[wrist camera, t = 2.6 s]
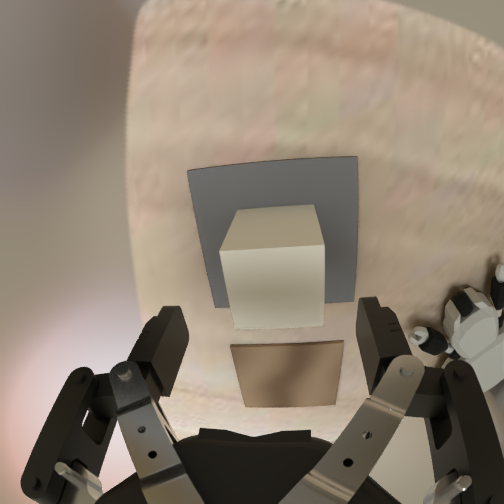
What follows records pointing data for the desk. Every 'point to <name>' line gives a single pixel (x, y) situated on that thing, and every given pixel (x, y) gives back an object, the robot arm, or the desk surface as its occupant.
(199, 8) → the desk surface
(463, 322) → the robot toy
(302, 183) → the mat
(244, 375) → the walnut board
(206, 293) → the desk surface
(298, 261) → the white block
